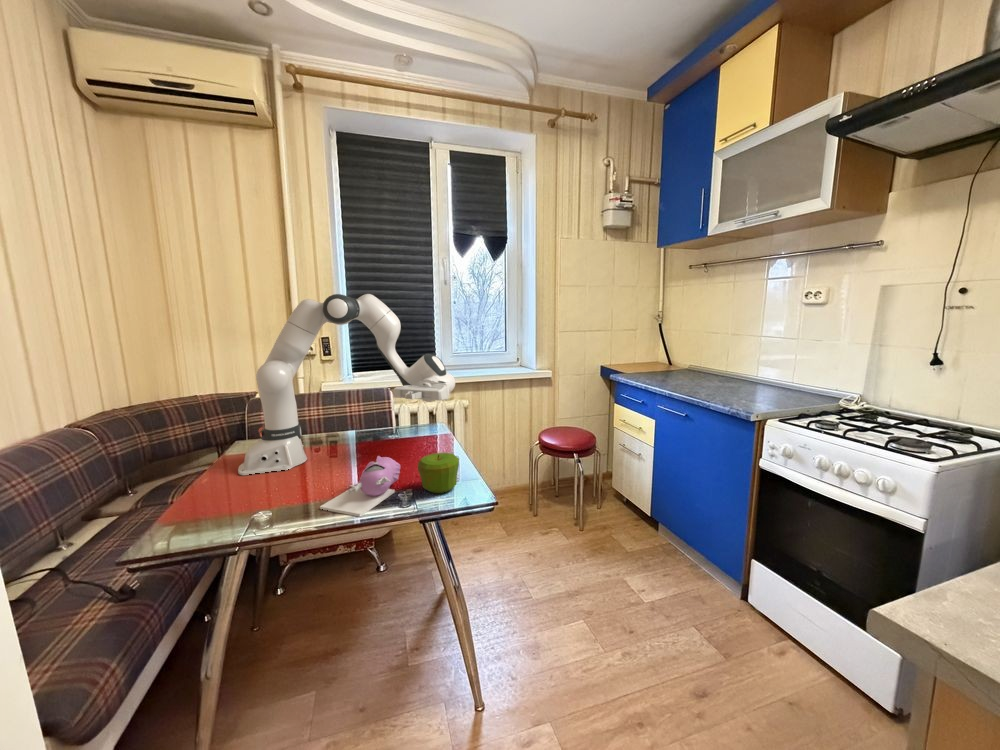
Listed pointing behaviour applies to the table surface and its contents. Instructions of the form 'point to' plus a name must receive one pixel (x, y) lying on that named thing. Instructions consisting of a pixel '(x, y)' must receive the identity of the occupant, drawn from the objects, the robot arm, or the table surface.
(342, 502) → the mat
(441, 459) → the apple
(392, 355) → the robot arm
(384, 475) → the toy character
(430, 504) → the table surface
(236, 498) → the table surface
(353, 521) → the table surface
